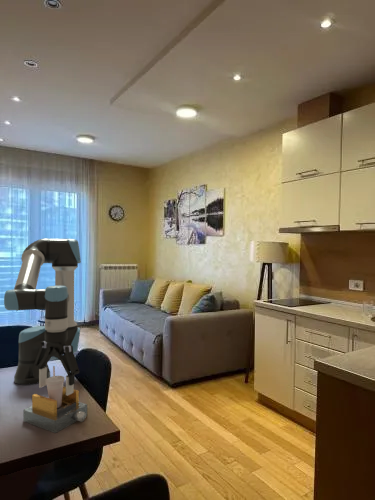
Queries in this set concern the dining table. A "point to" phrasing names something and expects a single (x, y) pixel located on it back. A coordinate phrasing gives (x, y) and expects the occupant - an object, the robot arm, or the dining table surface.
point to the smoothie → (55, 387)
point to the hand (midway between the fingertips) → (55, 390)
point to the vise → (55, 411)
